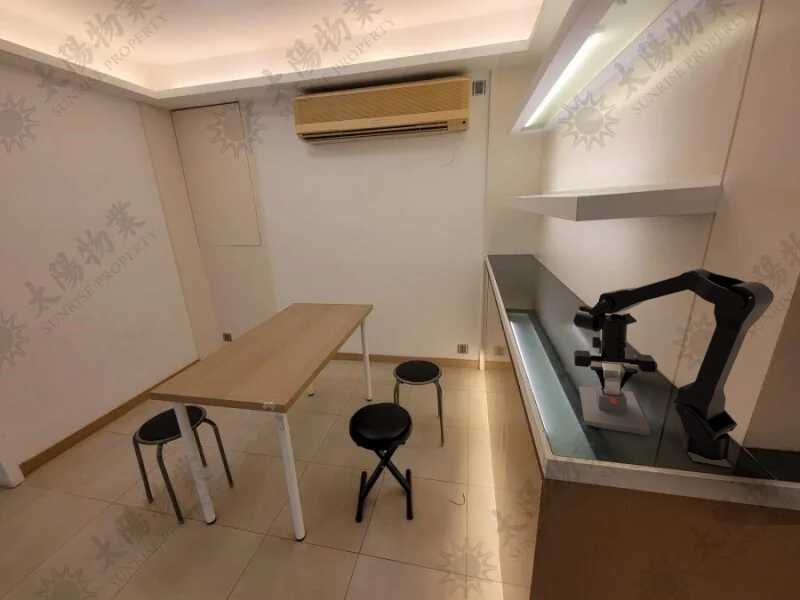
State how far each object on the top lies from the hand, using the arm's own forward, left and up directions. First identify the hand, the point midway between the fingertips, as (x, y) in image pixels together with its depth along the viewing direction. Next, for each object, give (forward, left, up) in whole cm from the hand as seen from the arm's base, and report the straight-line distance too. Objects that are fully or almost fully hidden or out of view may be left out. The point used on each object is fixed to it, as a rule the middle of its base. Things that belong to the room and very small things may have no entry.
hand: (611, 389), depth 91 cm
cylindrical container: (-4, -27, -7) cm, 28 cm away
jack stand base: (0, 0, -6) cm, 6 cm away
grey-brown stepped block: (0, 0, -5) cm, 5 cm away
